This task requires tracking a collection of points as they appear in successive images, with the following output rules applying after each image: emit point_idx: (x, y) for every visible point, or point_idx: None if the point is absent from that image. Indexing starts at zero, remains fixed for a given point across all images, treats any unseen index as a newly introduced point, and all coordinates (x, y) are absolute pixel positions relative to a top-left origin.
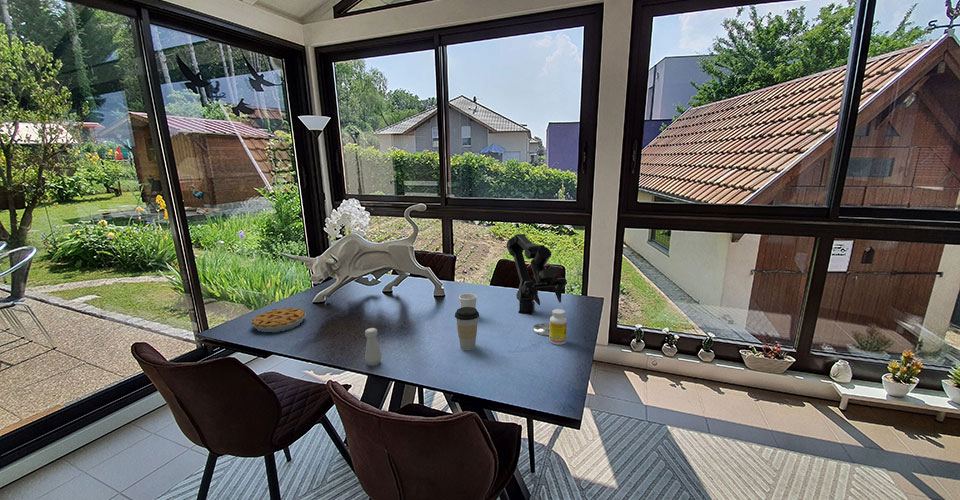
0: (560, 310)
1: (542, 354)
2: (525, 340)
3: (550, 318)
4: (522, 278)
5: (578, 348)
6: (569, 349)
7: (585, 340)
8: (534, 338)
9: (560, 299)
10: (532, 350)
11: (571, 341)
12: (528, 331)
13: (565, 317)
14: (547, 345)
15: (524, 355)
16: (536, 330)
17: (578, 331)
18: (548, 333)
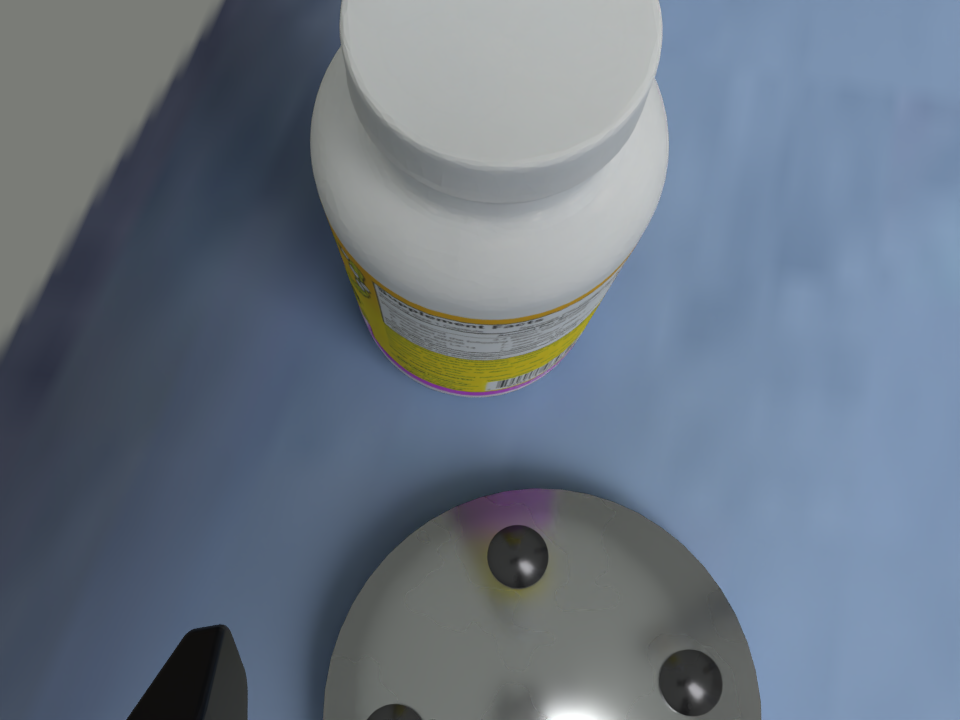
0: (433, 57)
1: (740, 10)
2: (899, 389)
3: (663, 141)
4: None
5: (274, 83)
6: None
7: (83, 277)
8: (768, 434)
9: (178, 684)
10: (840, 113)
11: (286, 275)
12: (824, 696)
13: (329, 108)
14: None
15: (944, 17)
16: (721, 631)
17: (41, 591)
18: (556, 492)
